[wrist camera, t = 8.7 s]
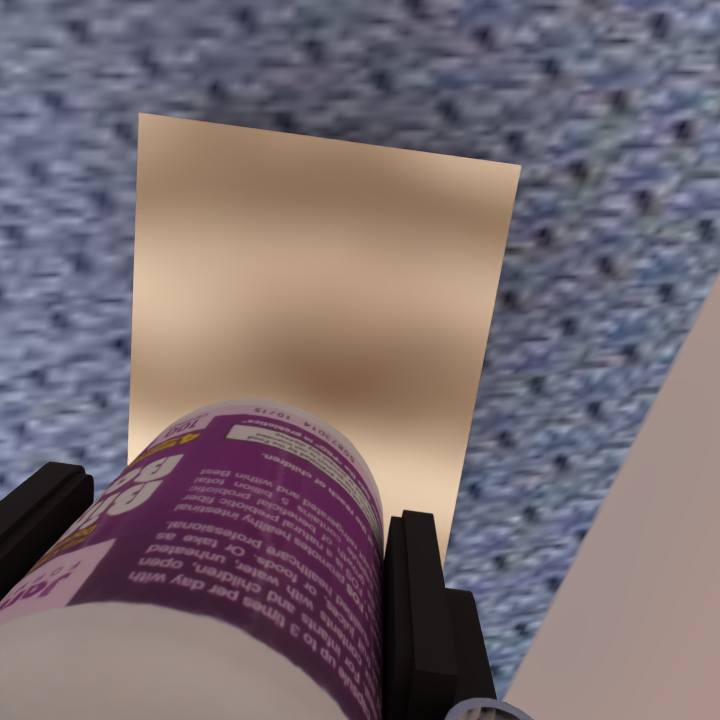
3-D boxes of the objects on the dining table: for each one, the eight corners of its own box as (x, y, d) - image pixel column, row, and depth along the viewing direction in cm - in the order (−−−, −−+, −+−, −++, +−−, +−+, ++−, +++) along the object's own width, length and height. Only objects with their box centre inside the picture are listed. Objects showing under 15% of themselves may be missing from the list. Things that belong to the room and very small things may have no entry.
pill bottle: (177, 349, 12) (-485, 860, 3) (424, 448, 13) (543, 1185, 3) (102, 567, 14) (-507, 1385, 4) (326, 651, 14) (211, 1571, 5)
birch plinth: (179, 125, 23) (138, 112, 19) (497, 169, 23) (521, 165, 19) (160, 506, 27) (124, 558, 23) (428, 542, 27) (436, 600, 24)
